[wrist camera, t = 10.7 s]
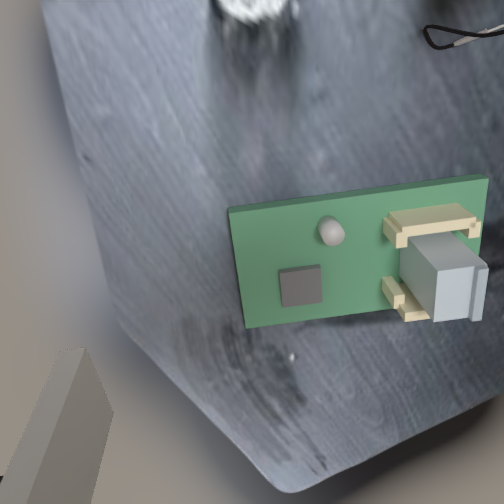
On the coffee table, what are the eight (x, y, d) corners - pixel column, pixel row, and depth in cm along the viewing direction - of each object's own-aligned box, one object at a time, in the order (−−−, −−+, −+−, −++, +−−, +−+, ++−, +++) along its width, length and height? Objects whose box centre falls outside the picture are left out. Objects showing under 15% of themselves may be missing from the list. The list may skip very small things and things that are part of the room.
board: (228, 207, 42) (230, 236, 37) (480, 173, 43) (521, 197, 37) (245, 320, 48) (249, 360, 42) (466, 289, 49) (500, 325, 43)
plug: (400, 230, 43) (441, 275, 35) (442, 224, 43) (491, 268, 35) (399, 275, 45) (436, 326, 38) (438, 269, 45) (483, 319, 38)
